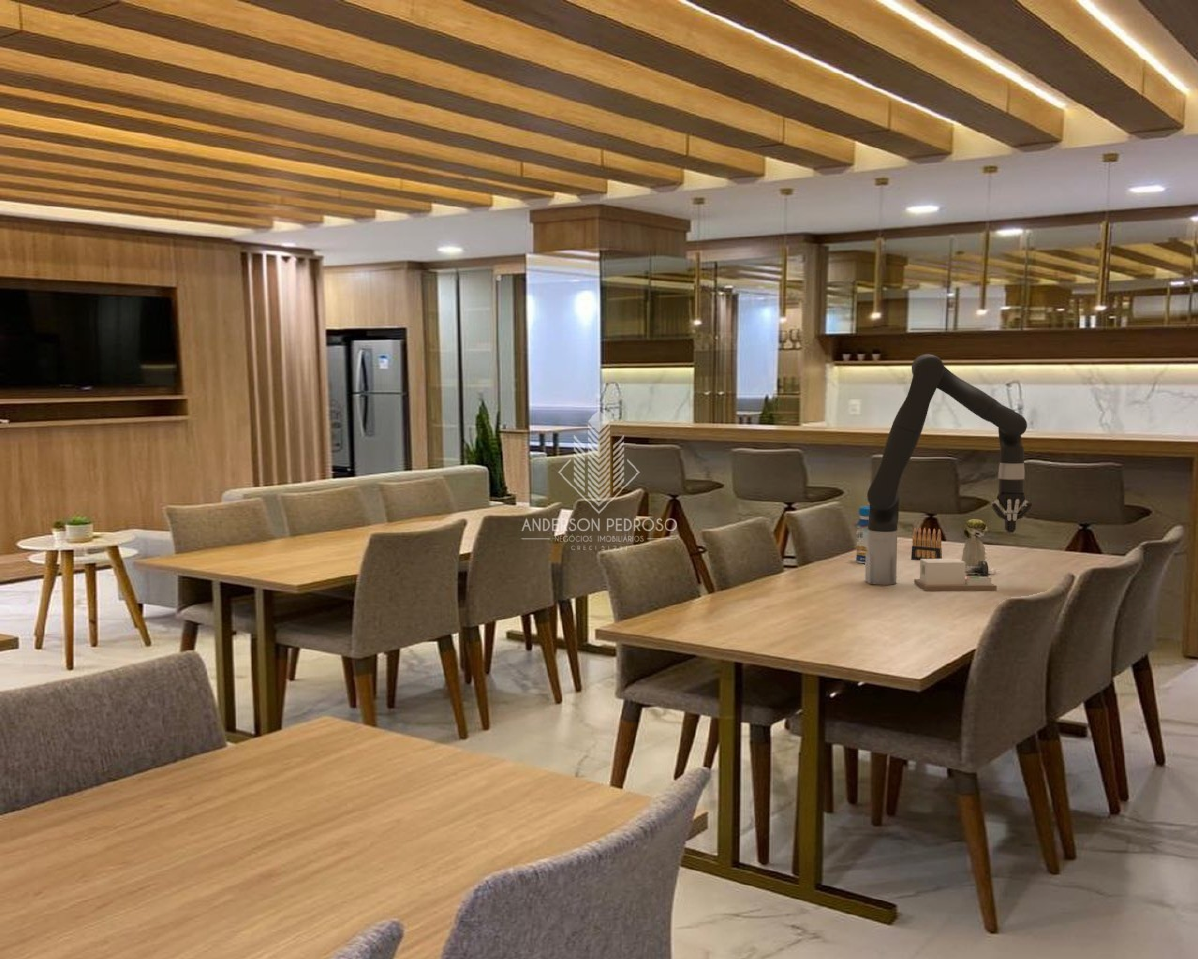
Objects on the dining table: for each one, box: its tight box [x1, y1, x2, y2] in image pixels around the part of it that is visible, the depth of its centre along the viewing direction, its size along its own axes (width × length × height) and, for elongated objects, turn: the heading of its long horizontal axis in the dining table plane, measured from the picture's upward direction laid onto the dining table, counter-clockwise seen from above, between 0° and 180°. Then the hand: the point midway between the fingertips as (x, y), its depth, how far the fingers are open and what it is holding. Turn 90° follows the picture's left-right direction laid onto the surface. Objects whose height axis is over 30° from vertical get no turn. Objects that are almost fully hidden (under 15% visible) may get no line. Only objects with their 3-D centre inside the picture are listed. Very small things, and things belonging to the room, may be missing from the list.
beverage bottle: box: [855, 505, 870, 564], centre depth 377 cm, size 8×8×20 cm
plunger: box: [965, 560, 991, 577], centre depth 330 cm, size 14×8×6 cm, turn 90°
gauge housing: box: [913, 558, 998, 592], centre depth 332 cm, size 22×12×8 cm, turn 90°
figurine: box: [961, 518, 997, 576], centre depth 355 cm, size 12×13×18 cm
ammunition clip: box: [910, 526, 943, 561], centre depth 380 cm, size 11×2×12 cm, turn 54°
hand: (1010, 532), depth 330 cm, fingers closed
